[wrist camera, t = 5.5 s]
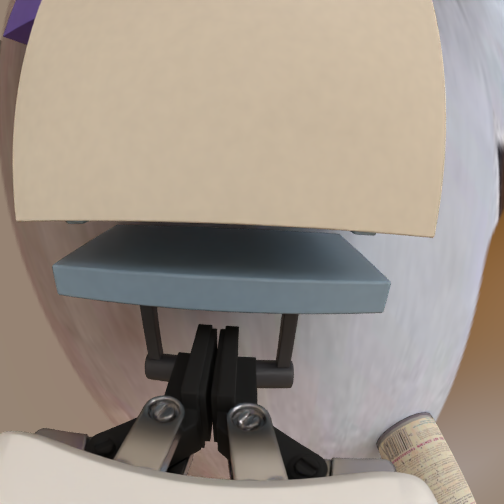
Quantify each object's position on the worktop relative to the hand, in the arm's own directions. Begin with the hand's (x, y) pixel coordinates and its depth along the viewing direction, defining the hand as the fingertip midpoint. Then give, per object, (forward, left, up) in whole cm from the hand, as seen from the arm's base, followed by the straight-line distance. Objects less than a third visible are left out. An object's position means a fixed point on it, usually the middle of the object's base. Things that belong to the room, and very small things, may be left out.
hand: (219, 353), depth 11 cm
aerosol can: (+19, -17, -5) cm, 26 cm away
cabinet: (0, +14, -5) cm, 15 cm away
